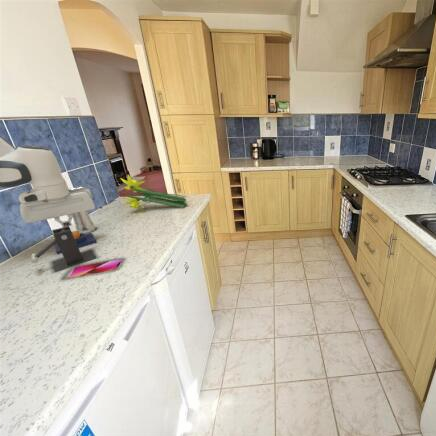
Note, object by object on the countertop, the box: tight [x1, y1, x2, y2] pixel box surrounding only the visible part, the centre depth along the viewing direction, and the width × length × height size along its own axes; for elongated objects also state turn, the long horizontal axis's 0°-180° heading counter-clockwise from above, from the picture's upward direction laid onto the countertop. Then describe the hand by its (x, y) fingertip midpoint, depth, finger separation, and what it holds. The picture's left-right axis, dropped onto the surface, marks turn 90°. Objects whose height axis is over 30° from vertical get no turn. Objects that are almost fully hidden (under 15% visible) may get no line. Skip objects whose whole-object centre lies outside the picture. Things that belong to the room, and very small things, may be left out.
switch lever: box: [31, 229, 66, 264], centre depth 80 cm, size 12×5×2 cm
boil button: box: [71, 230, 81, 239], centre depth 95 cm, size 4×4×2 cm
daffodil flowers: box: [119, 174, 187, 209], centre depth 132 cm, size 17×15×35 cm
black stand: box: [52, 226, 97, 273], centre depth 83 cm, size 11×9×13 cm
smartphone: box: [67, 258, 124, 279], centre depth 81 cm, size 7×1×15 cm
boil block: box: [54, 232, 98, 255], centre depth 96 cm, size 12×10×4 cm
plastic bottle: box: [72, 211, 96, 234], centre depth 104 cm, size 6×7×20 cm
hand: (67, 226), depth 93 cm, fingers closed
